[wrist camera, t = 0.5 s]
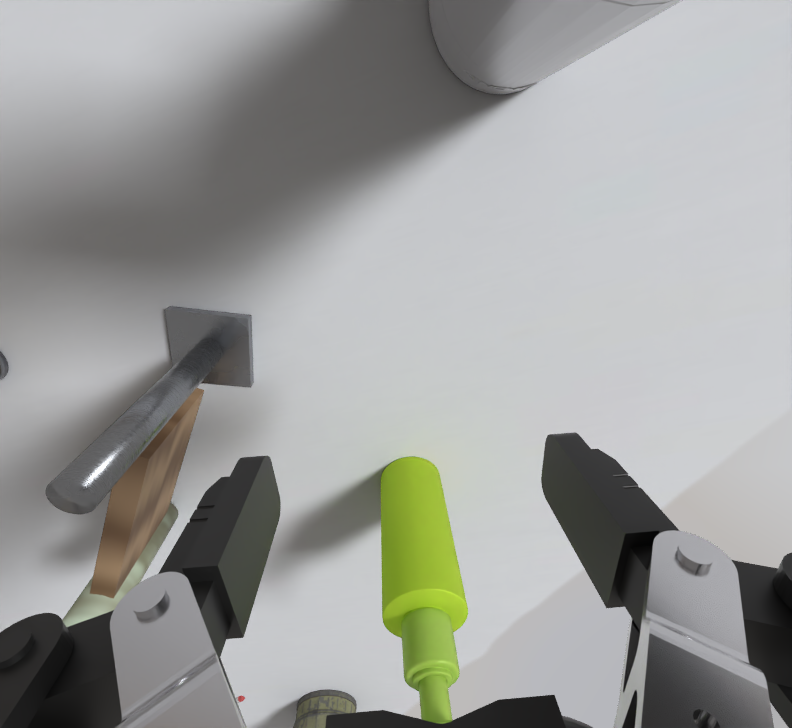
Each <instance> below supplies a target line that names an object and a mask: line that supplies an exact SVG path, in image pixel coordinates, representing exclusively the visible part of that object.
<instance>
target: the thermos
mask: <svg viewBox="0 0 792 728" xmlns="http://www.w3.org/2000/svg"><path fill="white" fill-rule="evenodd" d="M346 713H356V701H355V699H354V698H353V697H352V696H350V695H349V694H347V693H344V692H341V691H336V690H320V691H315V692H311V693H309V694H307V695H304V696H303V697H302V698H301V699H300V700H299V702H298V705H297V715H296V722H295V724H294V726H293V728H325V726H326V716H327V715H335V714H346Z"/></svg>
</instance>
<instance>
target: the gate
mask: <svg viewBox="0 0 792 728" xmlns="http://www.w3.org/2000/svg"><path fill="white" fill-rule="evenodd" d="M203 392H204V390H202V389H199V388H196V389H195V390H194V391H193V393H192V394H191V395H190V396H189V397H188V398H187V400H186V401H185V402H184V403H183V404H182V406H181V407H180V408H179V409H178V410H177V412H176V413H175V414H174V415H173V416H172V417H171V419H170V420H169V421H168V422H167V423H166V425H165V426H164V427H163V428H162V429H161V431H160V432H159V433H158V434H157V435H156V436H155V438H154V439H153V440H152V441H151V442H150V444H149V445H148V446H147V447H146V448H145V450H144V451H143V452H142V453H141V454H140V455H139V457H138V458H137V459H136V460H135V461H134V463H133V464H132V465H131V466H130V467H129V469H128V470H127V471H126V472H125V473H124V474H123V476H122V477H121V478H120V479H119V480H118V482H117V483H116V484H115V485H114V486H113V488H112V490H111V495H110V500H109V504H108V509H107V514H106V519H105V523H104V528H103V533H102V537H101V542H100V547H99V552H98V556H97V561H96V566H95V570H94V575H93V577H92V579H91V580H90V581H89V583H88V584H87V586H86V587H85V589H84V590H83V591H82V593H81V594H80V596H79V597H78V598H77V600H76V601H75V603H74V604H73V606H72V607H71V608H70V610H69V611H68V613H67V614H66V616H65V617H64V618H63V620H62V621H63V622H64V624H65V625H66V627H69V626H71V625H74V624H77V623H80V622H83V621H85V620H88V619H91V618H94V617H97V616H99V615H102V614H105V613H108V612H110V611H113V610H114V609H115V608H116V606H117V604H118V603H119V602H120V600H121V599H122V598H123V597H124V596H125V595H126V594H127V593H128V592H129V591H130V590H131V589H132V588H134V587H135V586H136V585H138V584H139V583H140V581H141V579H142V578H143V576H144V574H145V573H146V571H147V569H148V567H149V566H150V564H151V562H152V560H153V559H154V557H155V555H156V554H157V552H158V550H159V548H160V547H161V545H162V543H163V541H164V540H165V538H166V536H167V535H168V533H169V531H170V529H171V528H172V526H173V524H174V523H175V521H176V519H177V517H178V510H177V508H176V507H175V506H174V505H173V504H172V503H170V501H171V498H172V495H173V491H174V488H175V485H176V481H177V478H178V475H179V471H180V468H181V465H182V462H183V458H184V455H185V452H186V448H187V445H188V442H189V438H190V435H191V432H192V429H193V425H194V422H195V419H196V415H197V412H198V409H199V405H200V402H201V399H202V396H203Z"/></svg>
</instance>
